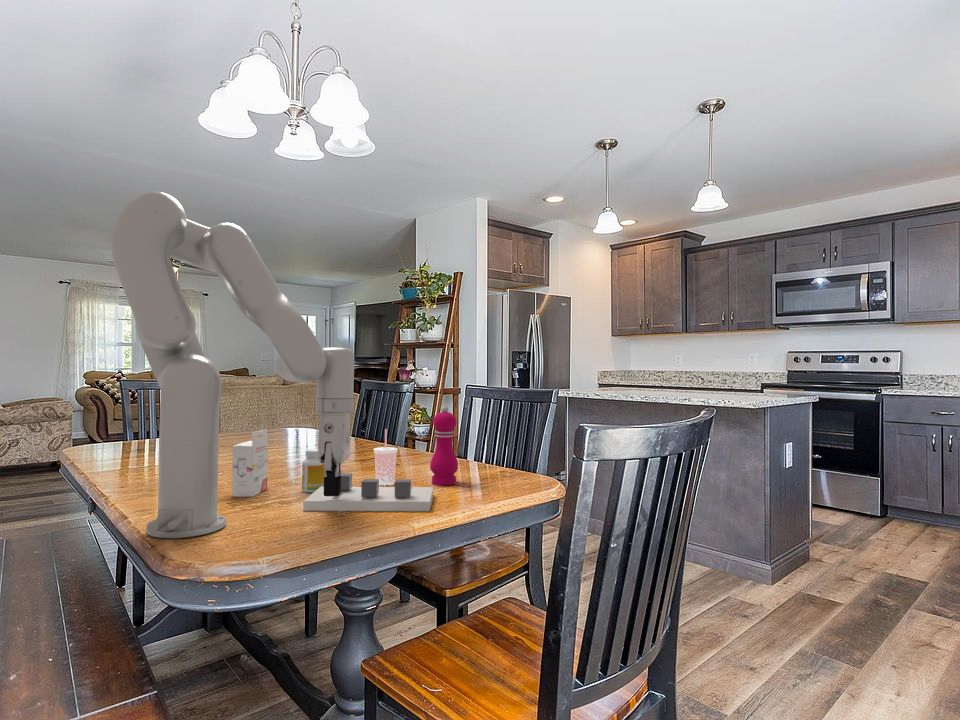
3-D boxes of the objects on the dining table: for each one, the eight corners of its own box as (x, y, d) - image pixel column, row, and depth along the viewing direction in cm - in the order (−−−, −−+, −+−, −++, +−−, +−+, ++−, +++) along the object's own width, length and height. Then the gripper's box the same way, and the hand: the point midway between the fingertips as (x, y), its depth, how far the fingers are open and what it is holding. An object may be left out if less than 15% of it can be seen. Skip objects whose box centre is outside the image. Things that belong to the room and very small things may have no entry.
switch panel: (429, 511, 114) (429, 501, 114) (303, 510, 113) (303, 500, 113) (433, 495, 128) (433, 486, 128) (320, 495, 127) (320, 486, 127)
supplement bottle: (329, 489, 133) (330, 449, 133) (313, 493, 128) (314, 452, 128) (313, 487, 135) (314, 447, 135) (296, 491, 130) (297, 450, 131)
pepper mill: (462, 482, 143) (463, 405, 144) (449, 487, 137) (450, 407, 137) (438, 479, 146) (439, 404, 147) (424, 484, 140) (425, 406, 140)
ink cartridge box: (247, 488, 133) (248, 427, 133) (267, 489, 132) (269, 428, 133) (230, 497, 124) (232, 431, 124) (252, 497, 124) (253, 432, 124)
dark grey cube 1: (349, 490, 122) (349, 476, 122) (334, 490, 121) (334, 476, 122) (351, 487, 125) (352, 473, 125) (337, 487, 124) (337, 473, 125)
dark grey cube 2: (376, 497, 116) (376, 481, 116) (361, 497, 116) (361, 481, 116) (378, 493, 119) (378, 479, 119) (363, 493, 119) (364, 478, 119)
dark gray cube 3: (409, 497, 116) (409, 482, 116) (394, 497, 116) (394, 482, 116) (411, 494, 119) (411, 479, 119) (396, 493, 119) (396, 479, 119)
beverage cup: (390, 487, 136) (391, 430, 137) (368, 485, 138) (369, 429, 138) (401, 482, 142) (401, 428, 142) (379, 480, 144) (380, 427, 144)
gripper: (346, 409, 107) (343, 504, 106) (358, 405, 122) (356, 488, 121) (306, 409, 106) (304, 504, 106) (324, 404, 121) (322, 487, 121)
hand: (332, 495), depth 114 cm, fingers closed
